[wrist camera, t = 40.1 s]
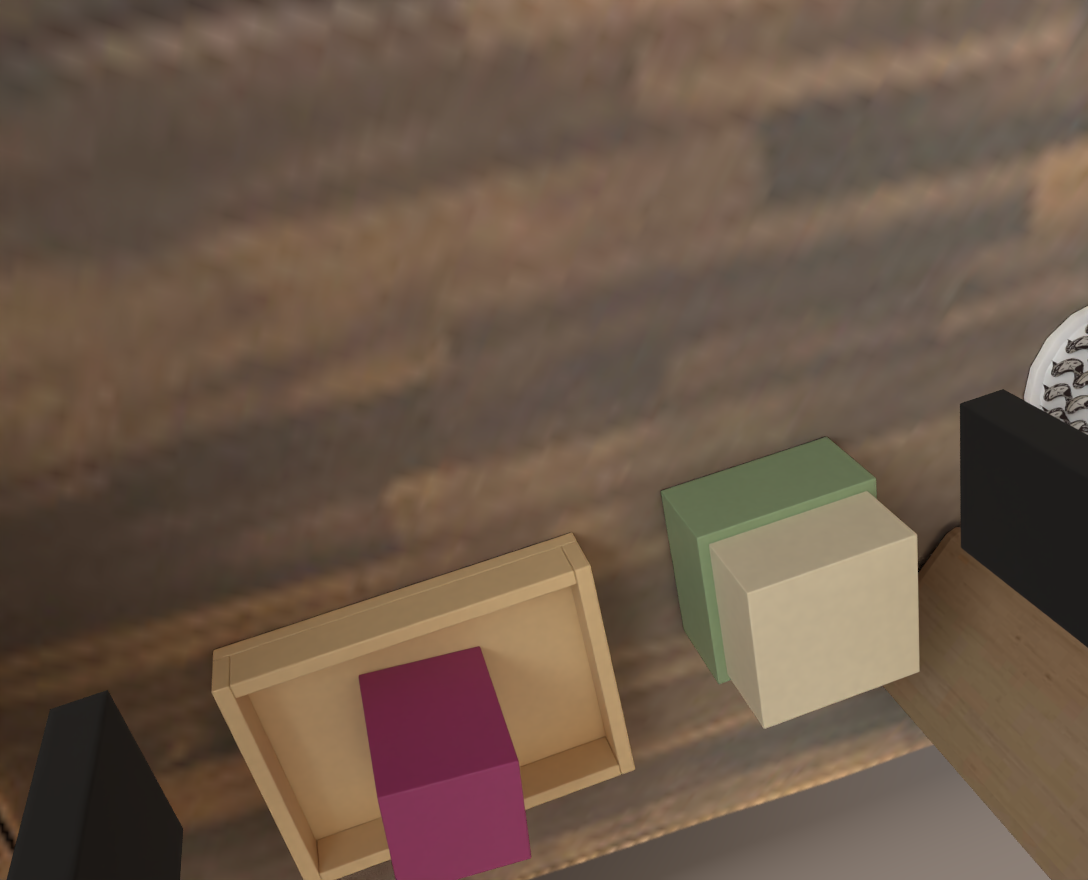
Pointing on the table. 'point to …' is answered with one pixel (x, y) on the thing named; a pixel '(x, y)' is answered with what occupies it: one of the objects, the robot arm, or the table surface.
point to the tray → (412, 635)
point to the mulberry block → (444, 768)
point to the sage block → (746, 522)
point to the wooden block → (1004, 704)
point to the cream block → (818, 606)
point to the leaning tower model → (1063, 373)
